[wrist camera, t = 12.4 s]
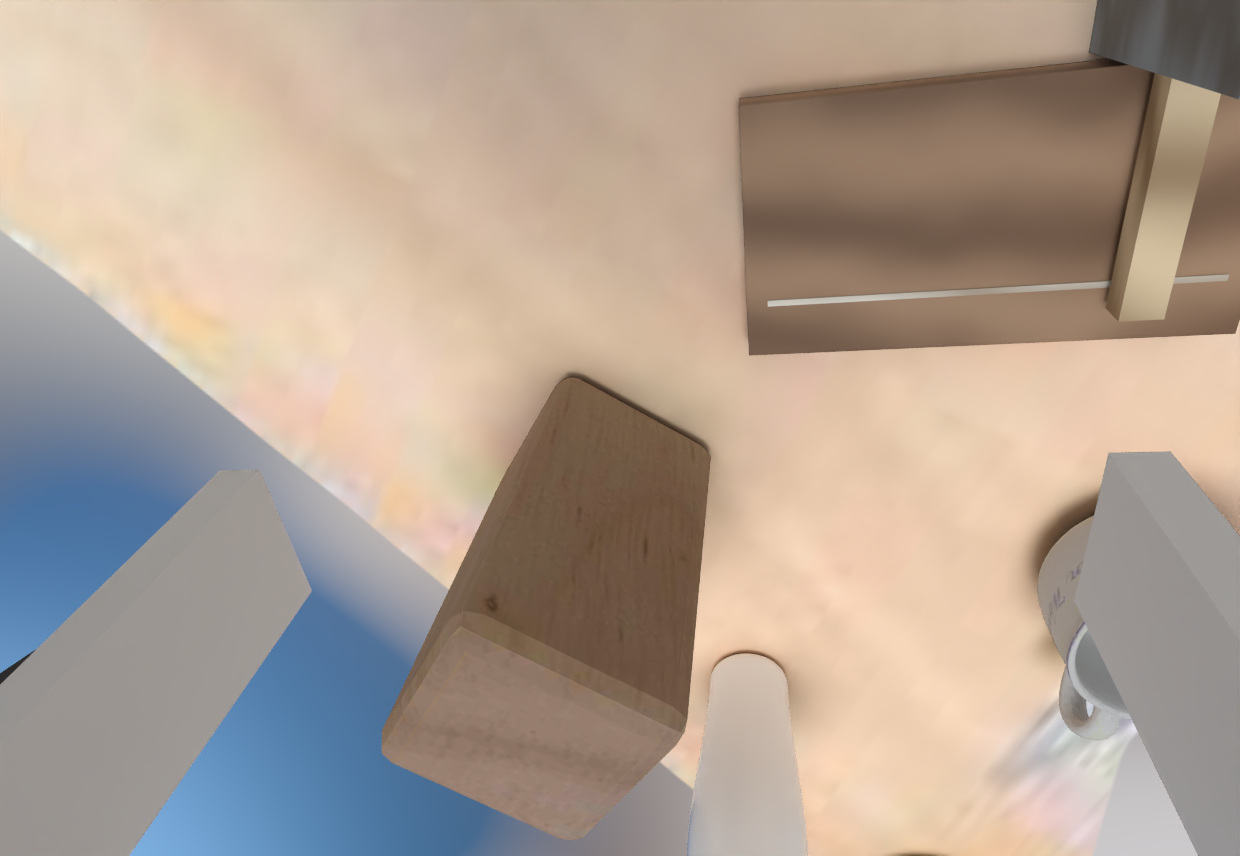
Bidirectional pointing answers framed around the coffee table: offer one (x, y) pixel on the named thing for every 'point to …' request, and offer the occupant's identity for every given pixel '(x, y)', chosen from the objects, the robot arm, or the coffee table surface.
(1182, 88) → the grey block
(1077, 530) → the teacup
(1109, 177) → the board
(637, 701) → the wooden block
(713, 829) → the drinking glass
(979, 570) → the coffee table surface
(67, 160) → the coffee table surface
